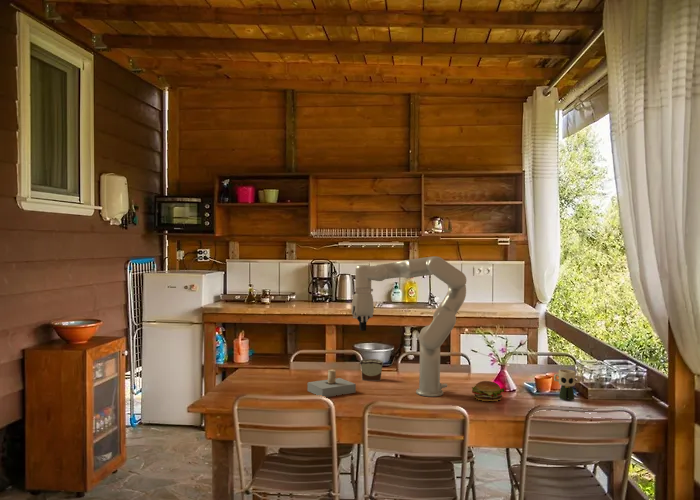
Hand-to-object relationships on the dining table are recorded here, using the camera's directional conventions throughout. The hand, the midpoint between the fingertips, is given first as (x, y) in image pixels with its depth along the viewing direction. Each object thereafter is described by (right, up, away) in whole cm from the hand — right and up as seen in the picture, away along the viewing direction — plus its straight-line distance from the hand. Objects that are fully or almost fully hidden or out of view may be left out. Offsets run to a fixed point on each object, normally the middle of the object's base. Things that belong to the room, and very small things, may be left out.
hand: (362, 330), depth 258 cm
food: (+56, -30, -10) cm, 64 cm away
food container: (+5, -29, +26) cm, 40 cm away
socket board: (-15, -29, 0) cm, 32 cm away
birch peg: (-15, -29, 0) cm, 32 cm away
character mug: (+92, -30, -9) cm, 98 cm away
